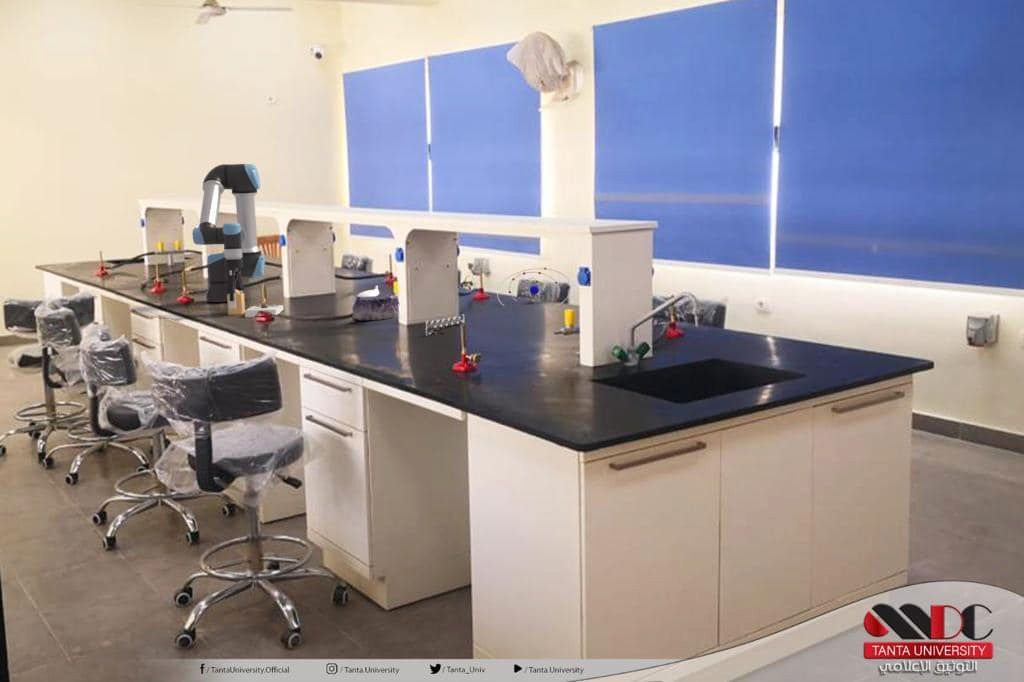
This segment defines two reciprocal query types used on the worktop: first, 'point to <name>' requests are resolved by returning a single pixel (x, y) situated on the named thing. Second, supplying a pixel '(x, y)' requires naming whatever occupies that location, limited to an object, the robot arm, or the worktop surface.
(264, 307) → the block
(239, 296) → the orange cube with dome
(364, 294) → the driver head
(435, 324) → the molecular model
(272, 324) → the worktop surface
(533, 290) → the atomic model
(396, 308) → the geode
